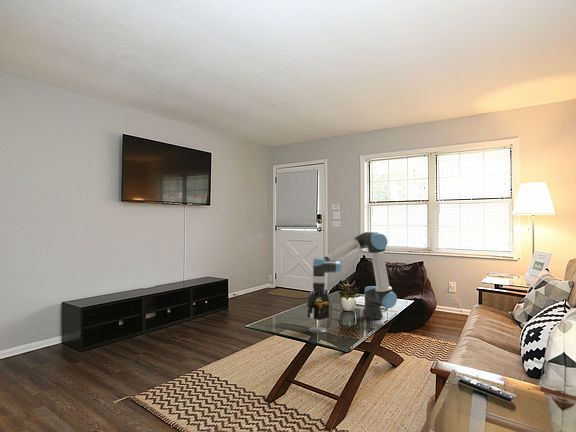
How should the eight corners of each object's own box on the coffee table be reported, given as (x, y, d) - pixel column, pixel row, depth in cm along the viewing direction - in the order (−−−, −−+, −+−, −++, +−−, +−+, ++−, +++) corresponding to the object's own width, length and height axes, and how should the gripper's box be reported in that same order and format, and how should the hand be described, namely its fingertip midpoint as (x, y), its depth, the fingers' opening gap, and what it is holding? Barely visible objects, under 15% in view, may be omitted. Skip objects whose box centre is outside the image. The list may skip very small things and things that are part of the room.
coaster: (318, 326, 228) (318, 325, 228) (331, 331, 218) (331, 330, 218) (305, 329, 221) (305, 328, 221) (317, 334, 211) (317, 333, 211)
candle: (307, 317, 220) (307, 301, 220) (317, 314, 227) (317, 299, 227) (319, 320, 213) (319, 304, 213) (329, 317, 220) (329, 302, 220)
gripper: (327, 280, 231) (327, 313, 230) (301, 283, 217) (301, 318, 216) (335, 281, 225) (335, 315, 224) (309, 284, 211) (308, 320, 210)
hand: (318, 316), depth 220 cm, fingers closed on candle, 10 cm apart
